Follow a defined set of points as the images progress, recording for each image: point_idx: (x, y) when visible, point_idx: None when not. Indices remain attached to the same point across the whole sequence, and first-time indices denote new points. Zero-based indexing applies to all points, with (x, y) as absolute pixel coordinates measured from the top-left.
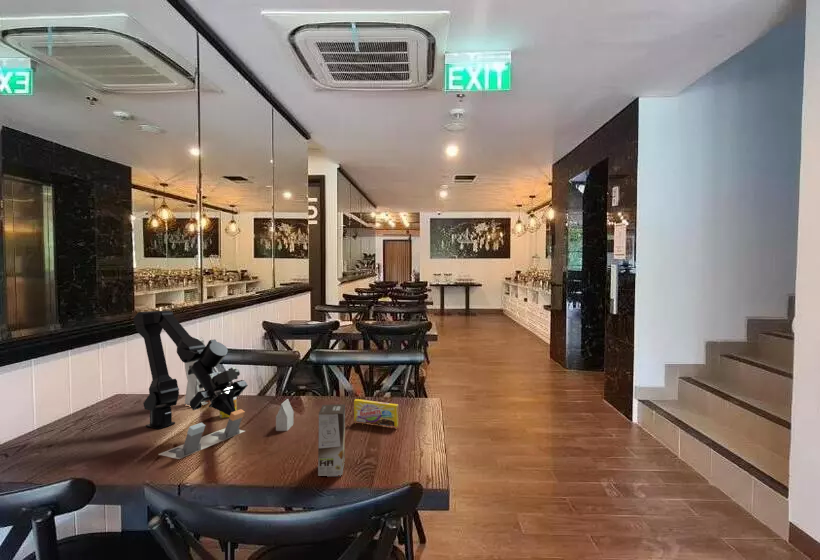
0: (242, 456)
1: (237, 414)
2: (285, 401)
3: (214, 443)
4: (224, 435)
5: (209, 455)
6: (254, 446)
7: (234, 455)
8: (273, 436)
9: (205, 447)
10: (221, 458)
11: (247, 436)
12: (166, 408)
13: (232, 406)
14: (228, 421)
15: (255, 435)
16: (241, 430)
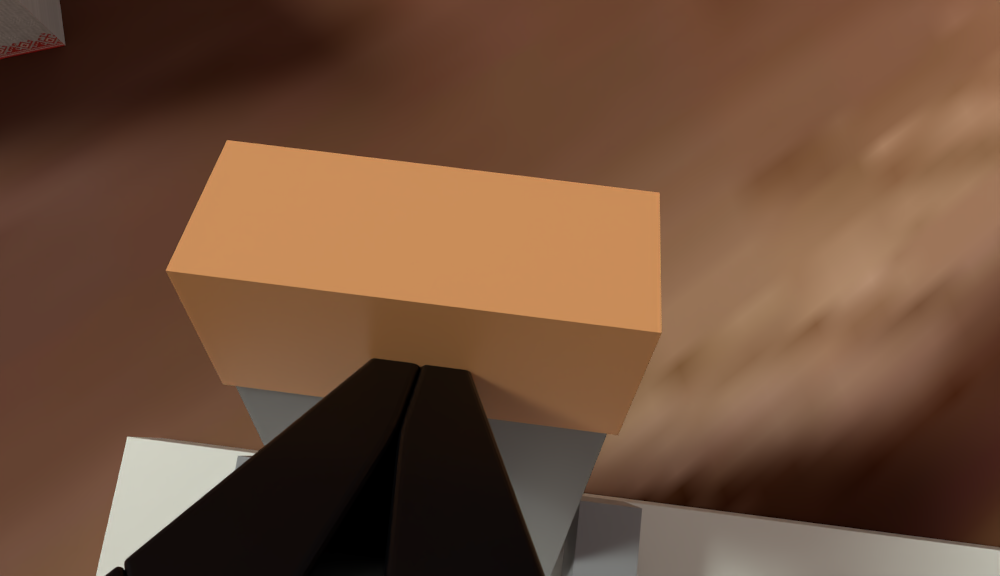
0: (840, 25)
1: (542, 183)
2: None
3: (792, 543)
4: (612, 503)
5: (982, 428)
6: (513, 76)
7: (852, 128)
8: (111, 52)
9: (980, 561)
10: (992, 215)
11: (186, 392)
12: None
13: (311, 523)
14: (597, 456)
15: (121, 305)
16: (119, 521)
